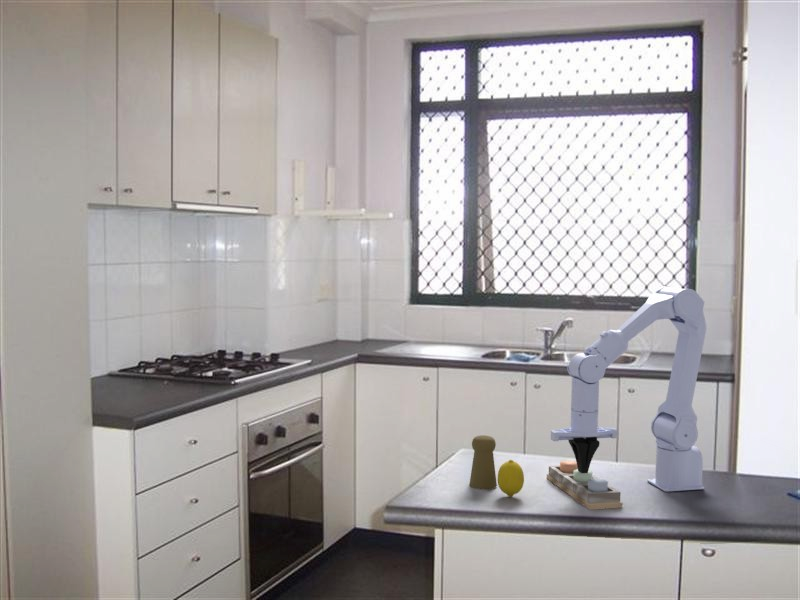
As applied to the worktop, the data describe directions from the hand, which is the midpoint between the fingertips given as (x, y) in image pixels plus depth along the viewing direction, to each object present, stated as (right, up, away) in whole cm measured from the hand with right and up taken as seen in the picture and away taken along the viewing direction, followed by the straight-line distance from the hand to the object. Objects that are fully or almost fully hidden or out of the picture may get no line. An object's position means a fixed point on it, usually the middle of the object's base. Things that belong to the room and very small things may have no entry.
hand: (582, 472), depth 180 cm
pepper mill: (-21, -4, +5) cm, 22 cm away
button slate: (+2, -4, -7) cm, 8 cm away
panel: (0, -4, 0) cm, 4 cm away
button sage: (0, -3, 0) cm, 3 cm away
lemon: (-16, -5, -3) cm, 17 cm away
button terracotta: (-2, -2, +7) cm, 8 cm away
